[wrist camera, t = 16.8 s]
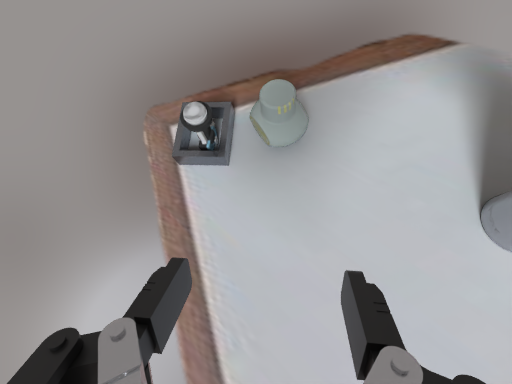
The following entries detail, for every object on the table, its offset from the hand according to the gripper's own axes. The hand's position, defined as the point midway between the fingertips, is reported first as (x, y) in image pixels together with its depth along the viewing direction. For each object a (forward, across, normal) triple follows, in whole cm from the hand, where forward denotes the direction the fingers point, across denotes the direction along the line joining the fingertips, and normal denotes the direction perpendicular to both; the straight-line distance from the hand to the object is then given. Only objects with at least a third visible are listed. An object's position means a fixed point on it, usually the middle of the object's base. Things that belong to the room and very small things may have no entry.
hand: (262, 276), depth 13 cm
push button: (+38, +14, +3) cm, 41 cm away
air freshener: (+40, +1, +1) cm, 40 cm away
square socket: (+38, +15, +2) cm, 41 cm away
